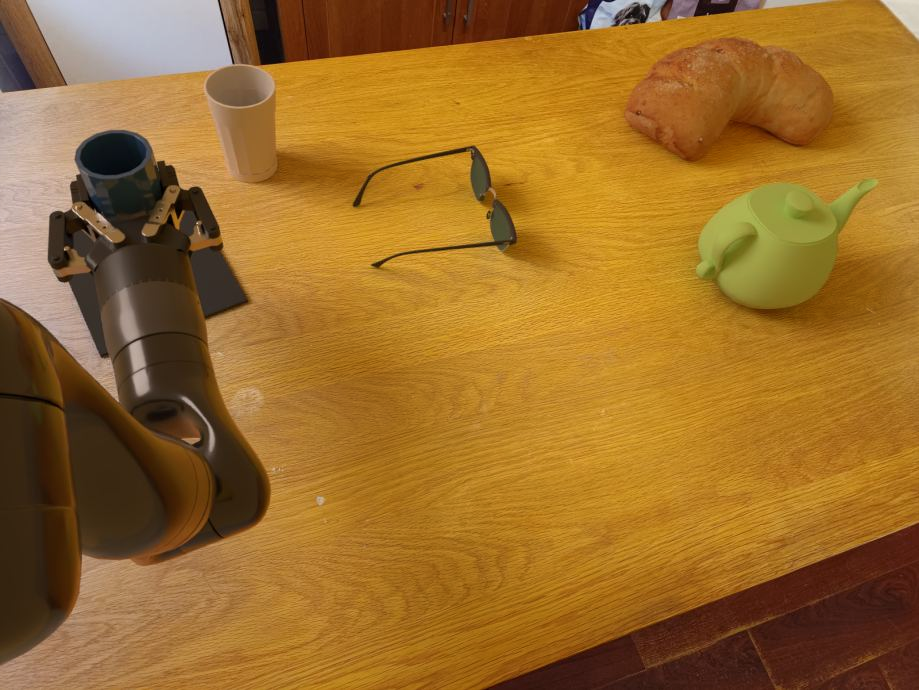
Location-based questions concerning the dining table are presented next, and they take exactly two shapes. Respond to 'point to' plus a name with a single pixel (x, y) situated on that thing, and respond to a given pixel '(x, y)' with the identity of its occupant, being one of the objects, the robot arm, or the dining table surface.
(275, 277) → the dining table surface
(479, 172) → the sunglasses
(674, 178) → the dining table surface
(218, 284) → the mat
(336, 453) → the dining table surface
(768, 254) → the teapot
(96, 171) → the tumbler
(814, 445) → the dining table surface
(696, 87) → the bread
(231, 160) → the cup
